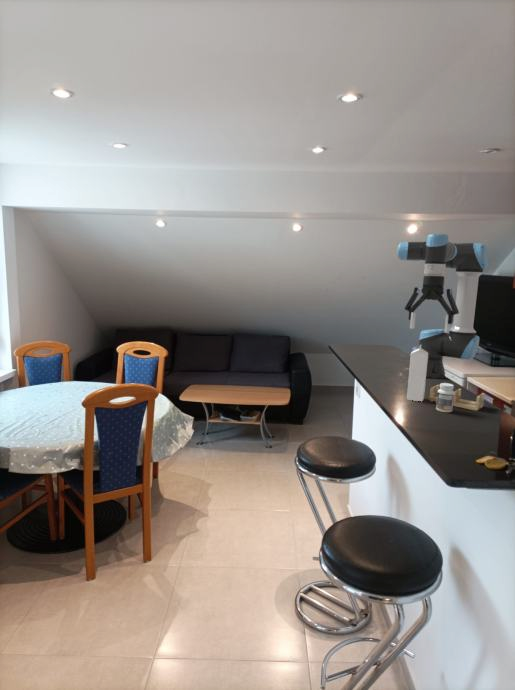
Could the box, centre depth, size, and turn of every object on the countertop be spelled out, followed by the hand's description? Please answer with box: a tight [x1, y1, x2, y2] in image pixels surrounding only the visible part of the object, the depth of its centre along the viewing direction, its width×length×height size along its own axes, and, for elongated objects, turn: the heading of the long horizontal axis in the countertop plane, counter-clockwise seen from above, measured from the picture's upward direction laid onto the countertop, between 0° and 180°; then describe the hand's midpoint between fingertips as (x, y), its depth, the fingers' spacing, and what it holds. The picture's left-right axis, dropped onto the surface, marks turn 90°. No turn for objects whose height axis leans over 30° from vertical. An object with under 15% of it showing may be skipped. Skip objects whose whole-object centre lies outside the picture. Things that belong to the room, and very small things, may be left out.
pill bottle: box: [435, 382, 454, 413], centre depth 166 cm, size 6×6×10 cm
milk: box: [406, 345, 428, 403], centre depth 179 cm, size 6×6×22 cm
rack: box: [428, 384, 485, 411], centre depth 176 cm, size 8×18×5 cm, turn 49°
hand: (428, 330), depth 175 cm, fingers open, 13 cm apart
